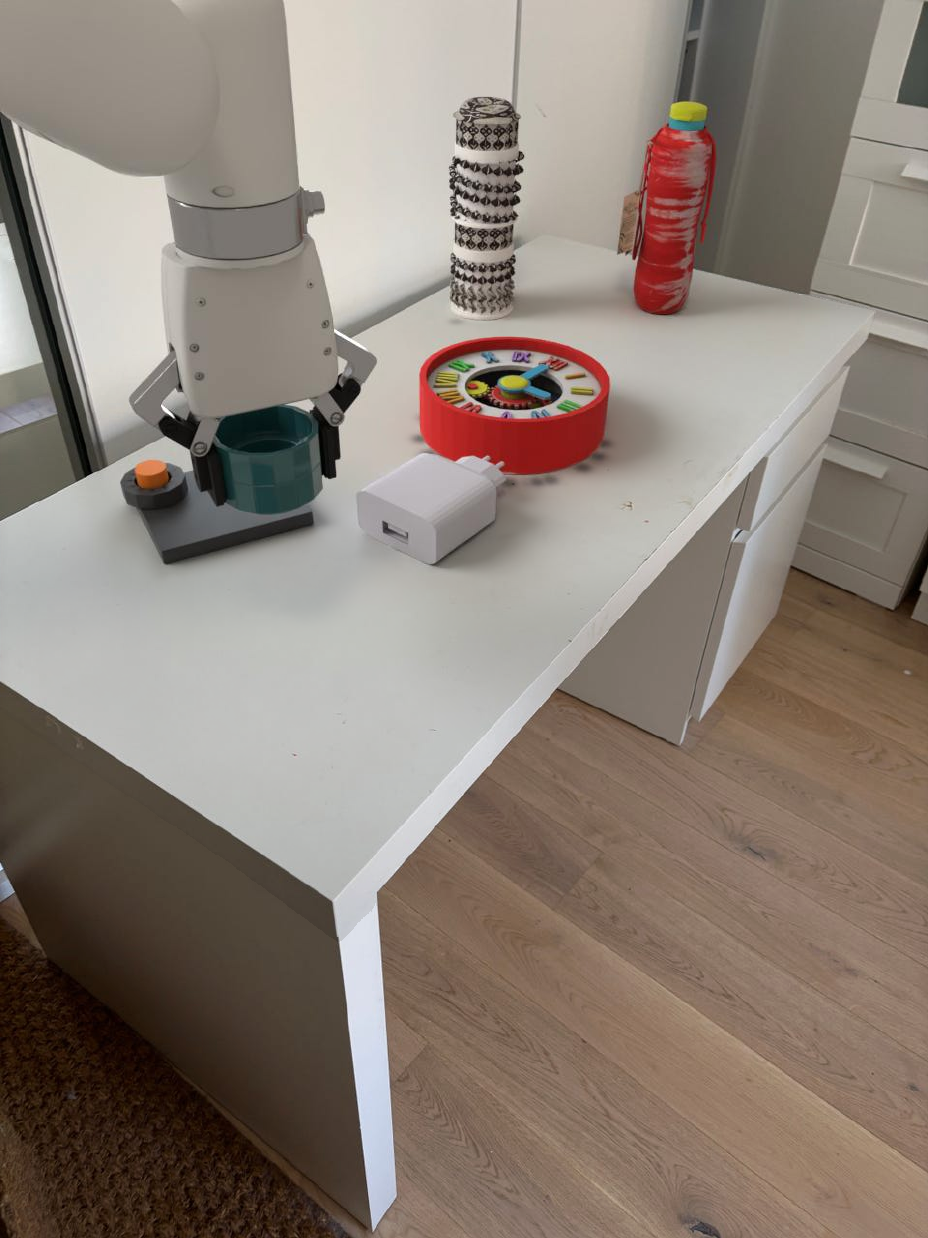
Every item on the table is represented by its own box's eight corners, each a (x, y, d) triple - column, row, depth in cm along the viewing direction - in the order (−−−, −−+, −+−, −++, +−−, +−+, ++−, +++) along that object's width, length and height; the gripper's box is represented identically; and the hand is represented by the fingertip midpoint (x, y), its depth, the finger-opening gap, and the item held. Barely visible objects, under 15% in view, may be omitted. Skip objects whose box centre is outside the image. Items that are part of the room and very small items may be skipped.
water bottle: (596, 306, 131) (618, 101, 115) (617, 287, 137) (641, 89, 121) (681, 324, 127) (716, 114, 111) (699, 304, 132) (736, 101, 116)
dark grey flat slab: (154, 567, 84) (148, 538, 82) (121, 498, 92) (114, 470, 91) (314, 524, 90) (311, 496, 88) (269, 462, 98) (266, 436, 96)
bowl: (238, 530, 64) (227, 465, 61) (207, 478, 69) (196, 416, 66) (339, 504, 67) (334, 441, 64) (302, 456, 72) (296, 395, 69)
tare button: (142, 492, 88) (138, 478, 87) (134, 478, 90) (131, 463, 89) (172, 485, 90) (169, 470, 89) (164, 471, 91) (161, 456, 90)
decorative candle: (524, 318, 127) (537, 108, 111) (455, 323, 126) (458, 111, 110) (506, 292, 134) (515, 91, 118) (441, 297, 132) (441, 93, 116)
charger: (532, 497, 94) (435, 569, 85) (458, 466, 98) (358, 530, 89) (536, 455, 91) (435, 524, 82) (459, 424, 95) (355, 486, 86)
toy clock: (379, 379, 100) (497, 321, 112) (381, 429, 104) (495, 368, 116) (535, 443, 90) (646, 372, 102) (531, 496, 94) (639, 422, 106)
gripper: (352, 186, 62) (364, 432, 73) (71, 222, 56) (133, 485, 67) (400, 221, 57) (406, 479, 68) (98, 265, 51) (159, 542, 62)
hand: (270, 481), depth 68 cm, fingers closed on bowl, 7 cm apart
